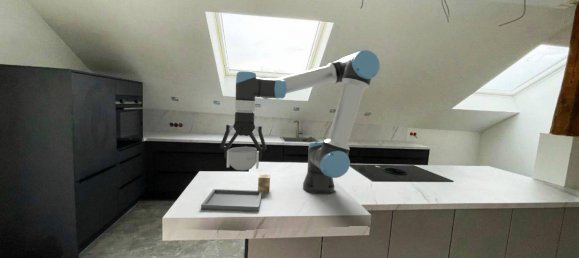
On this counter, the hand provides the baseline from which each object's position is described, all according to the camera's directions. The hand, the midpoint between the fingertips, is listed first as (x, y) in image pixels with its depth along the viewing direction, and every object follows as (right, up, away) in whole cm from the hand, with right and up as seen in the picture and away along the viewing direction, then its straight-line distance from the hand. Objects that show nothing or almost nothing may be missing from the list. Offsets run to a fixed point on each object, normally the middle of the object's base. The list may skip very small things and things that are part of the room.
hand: (242, 167), depth 104 cm
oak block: (+7, -13, +16) cm, 22 cm away
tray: (-4, -14, +1) cm, 14 cm away
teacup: (0, 0, 0) cm, 1 cm away
